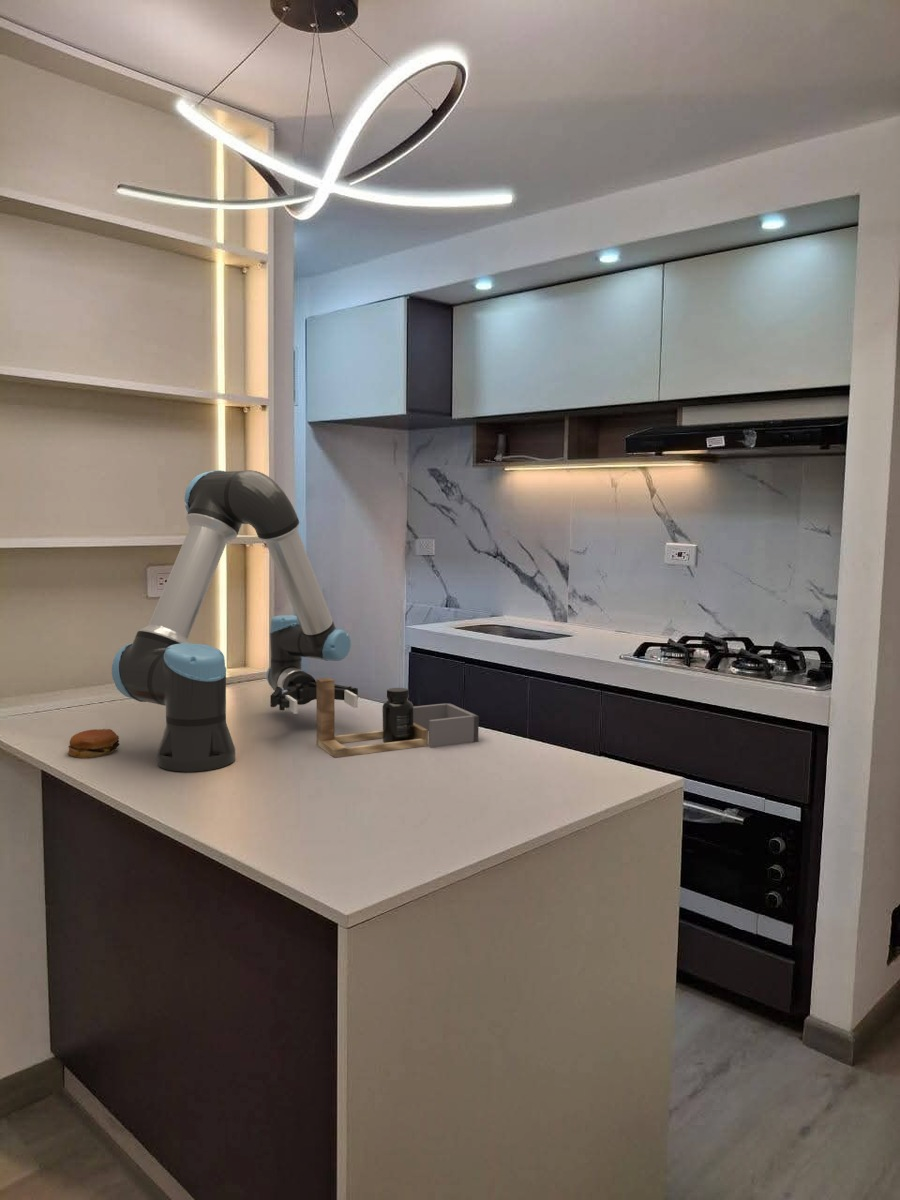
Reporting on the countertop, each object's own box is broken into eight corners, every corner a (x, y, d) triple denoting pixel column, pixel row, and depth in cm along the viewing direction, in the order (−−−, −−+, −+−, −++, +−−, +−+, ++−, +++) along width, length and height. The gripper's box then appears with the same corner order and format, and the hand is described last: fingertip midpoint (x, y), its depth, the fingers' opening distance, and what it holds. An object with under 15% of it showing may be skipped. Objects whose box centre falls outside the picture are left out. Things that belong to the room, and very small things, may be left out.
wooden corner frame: (406, 734, 202) (407, 671, 201) (427, 745, 193) (428, 680, 191) (316, 744, 193) (316, 678, 191) (334, 757, 183) (334, 688, 181)
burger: (62, 759, 181) (61, 736, 180) (79, 747, 190) (78, 726, 190) (111, 759, 181) (110, 737, 181) (126, 747, 190) (125, 726, 190)
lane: (448, 727, 209) (448, 702, 209) (478, 742, 197) (478, 715, 196) (403, 733, 204) (403, 707, 203) (431, 748, 191) (431, 721, 191)
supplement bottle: (415, 739, 199) (416, 687, 197) (410, 747, 192) (410, 693, 191) (385, 738, 199) (385, 685, 198) (379, 746, 193) (379, 692, 191)
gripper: (347, 697, 216) (380, 716, 197) (245, 706, 205) (269, 727, 186) (347, 667, 215) (380, 682, 196) (244, 674, 204) (269, 692, 185)
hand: (326, 704), depth 191 cm, fingers open, 13 cm apart
